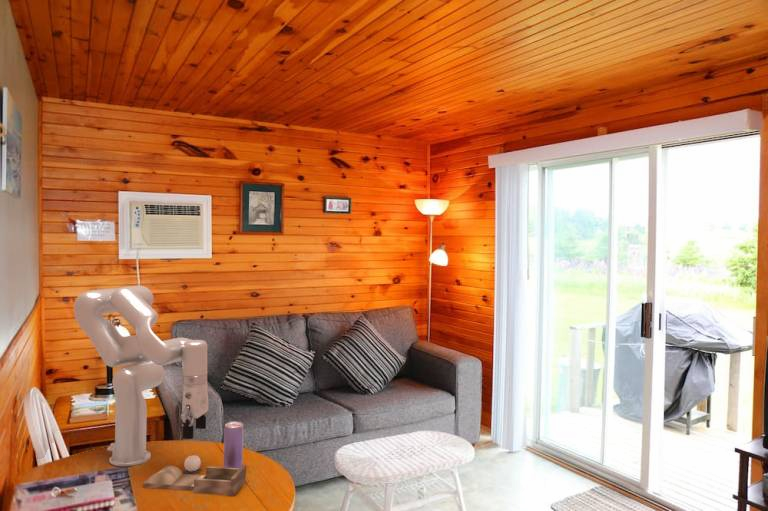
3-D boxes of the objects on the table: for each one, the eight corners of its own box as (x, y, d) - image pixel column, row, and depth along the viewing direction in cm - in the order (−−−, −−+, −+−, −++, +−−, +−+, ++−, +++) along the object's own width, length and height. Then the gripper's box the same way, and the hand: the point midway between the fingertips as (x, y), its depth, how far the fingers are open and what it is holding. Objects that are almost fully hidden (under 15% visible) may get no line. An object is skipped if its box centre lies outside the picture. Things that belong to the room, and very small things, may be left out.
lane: (140, 503, 168) (141, 472, 168) (157, 488, 178) (157, 459, 178) (234, 509, 166) (234, 478, 165) (245, 494, 176) (246, 465, 175)
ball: (180, 472, 180) (180, 457, 180) (191, 467, 185) (191, 451, 185) (193, 475, 178) (194, 459, 178) (203, 469, 183) (204, 454, 183)
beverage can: (237, 475, 180) (238, 428, 180) (219, 473, 181) (220, 426, 181) (245, 468, 186) (246, 422, 185) (228, 466, 187) (229, 420, 187)
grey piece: (188, 476, 178) (188, 474, 178) (182, 471, 182) (182, 469, 182) (202, 472, 181) (202, 470, 181) (196, 467, 185) (196, 466, 185)
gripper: (194, 386, 172) (194, 443, 172) (216, 373, 189) (216, 425, 189) (170, 385, 173) (170, 442, 173) (194, 373, 190) (194, 424, 190)
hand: (194, 433), depth 181 cm, fingers open, 9 cm apart
